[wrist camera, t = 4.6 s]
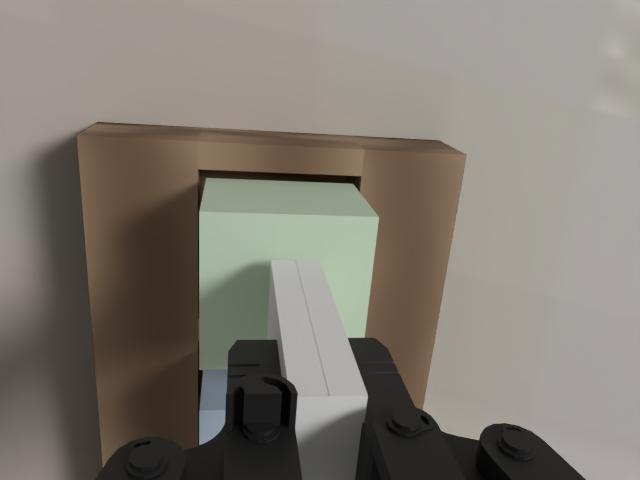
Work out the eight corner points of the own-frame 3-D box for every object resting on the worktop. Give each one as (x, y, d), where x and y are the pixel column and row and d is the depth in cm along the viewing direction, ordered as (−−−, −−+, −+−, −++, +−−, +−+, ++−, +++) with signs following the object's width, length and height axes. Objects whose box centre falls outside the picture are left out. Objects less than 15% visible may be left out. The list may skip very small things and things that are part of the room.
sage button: (205, 311, 21) (199, 370, 17) (206, 177, 19) (199, 211, 16) (339, 311, 22) (360, 366, 18) (352, 183, 20) (379, 216, 16)
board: (124, 541, 29) (112, 595, 26) (97, 122, 21) (76, 135, 18) (380, 524, 31) (394, 572, 28) (439, 140, 23) (466, 154, 20)
